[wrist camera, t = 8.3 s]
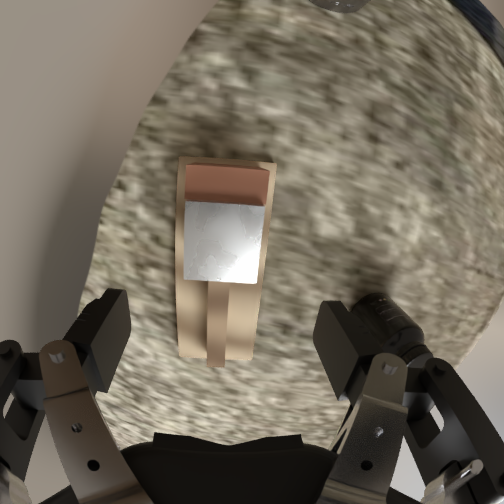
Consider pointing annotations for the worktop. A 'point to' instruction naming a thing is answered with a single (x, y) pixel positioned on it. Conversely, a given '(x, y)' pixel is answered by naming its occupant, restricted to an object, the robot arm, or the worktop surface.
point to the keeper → (222, 240)
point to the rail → (199, 288)
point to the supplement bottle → (393, 329)
